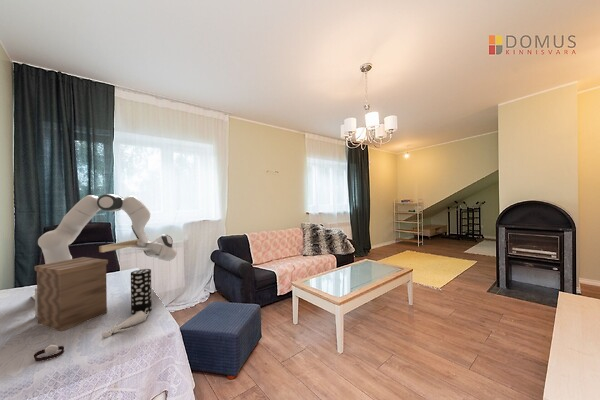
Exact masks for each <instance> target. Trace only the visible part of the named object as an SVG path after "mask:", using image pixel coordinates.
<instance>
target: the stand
mask: <svg viewBox="0 0 600 400" xmlns="http://www.w3.org/2000/svg"><path fill="white" fill-rule="evenodd" d="M108 264H109V259H103V258H95V257H88V256H80V257H77V258H72V259H71V260H65V261H60V262H55V263H49V264H39V265H35V266H34V271H35V272H36V288H37V317H36V318H37V324H38V325H40V326H44V327H46V328H47V327H48V328H49V329H53V330H56V331H59V332H63V331H66V330H67V329H70V328H74V327H75V326H78V325H80V324H83V323H86V322H88V321H90V320H93V319H96V318H97V317H100V316H103V315H106V314H107V313H108V304H107V303H108V302H107V300H108V298H107V297H108V295H107V265H108Z"/></svg>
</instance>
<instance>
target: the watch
mask: <svg viewBox="0 0 600 400" xmlns="http://www.w3.org/2000/svg"><path fill="white" fill-rule="evenodd" d="M64 353H65V346H64V345H56V344H50V345H49V346H47V347H45V348H44V349H40V350H38V351H37V352H35V353H34V354H33V358H34V359H33V360H34V361H35V362H43V361H42V360H44V361H48V360H51V359H50V358H52V359H54V357H55V358H57V356H58V357H60V356H61V355H62V354H64ZM42 354H50V355H45V356H41V355H42ZM39 356H40V357H39ZM47 359H48V360H47Z"/></svg>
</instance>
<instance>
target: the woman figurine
mask: <svg viewBox="0 0 600 400" xmlns="http://www.w3.org/2000/svg"><path fill="white" fill-rule="evenodd" d="M149 315H150V312H149V311H148V313H147V314H146V310H145V312H143V311H139V312H137V313H136V314H134V315H133V316H132V315H131V316H130V317H128V318H127V319H125V320H124V321H122V323H120V324H119V323H118V322H119V321H117V322H116V323H115V324H114V325H113V326H112V327H111V329H108V330H104V331H103V332H102V333H101V337H102V339H105V338H109V337H111V336H112V334H116V333H120V332H123V331H127V330H133V329H134V326H136V325H139V324H140V323H141V324H142V323H144V322H146V320H147V317H148V316H149Z"/></svg>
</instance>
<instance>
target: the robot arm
mask: <svg viewBox="0 0 600 400" xmlns="http://www.w3.org/2000/svg"><path fill="white" fill-rule="evenodd" d="M101 210H102V211H105V212H111V213H112V212H118V211H121V210H122V211H124V212H125V213H126V215H127V216H128V217H129V219H130V220H131V229H132V231H133V234H134V236H135V237H136V239H141V242H140V241H136V243H135V244H137V245H136V246H132V247H130V248H131V249H136V250H138V251H143V253H144V255H145V256H148V257H150V258H155V259H156V258H157V259H158V260H161V261H164V262H171V261H172V260H174V259H175V258H176V256H177V250H175V248H174V246H173V244H174V243H173V238H172V237H171V236H170V235H168V234H167V233H166V234H164V233H163V234H160V235H158V236H156V238H155V239H152V240H151V241H150V240H149V238H148V236H147V234H146V231H145V226H146V225H147V223H148V222H149V220H150V219H151V218H150V217H151V212H150V210H149V209H148V207H147V206H146V205H145V203H143V202H142V201H141V200H140V199H139V198H138V197H137V196H135V195H129V196H126V197H122V196H120V195H117V194H114V193H105V194H102V195H101V196H98V195H95V194H94V195H93V194H88V195H86V196H84V197H83V198H81V199H80V200H79V201H78V202H77V203H75V204H74V206H72V207H71V209H70V210H69V211H68V212H67V213H66V214H64V215H63V217H62V219H61V222H60V223H59V224H58V226H57V227H56V228H55V229H54V230H49V231H47V232H46V231H45V233H43V234H42V235H41V236H39V238H38V239H37V245H38V246H39V247H40V248H41V251H42V254H43V258H44V263H45V264H49V263H55V262H60V261H65V260H71V259H73V256H72V255H71V252H70V249H69V246H70V245H71V244H72V243H74V241H76V239H77V237H78V236H79V235H80V234H81V232H82V230H83V229H84V228H85V226H87V224H89V222H90V221H91V220H92V219H93V218H94V217H95V216H96V214H97V213H98V212H99V211H101ZM35 292H37V287H35V288H34V293H33V294H31V296H30V297H31V298H32V299H33V300H34V301H35Z"/></svg>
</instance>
